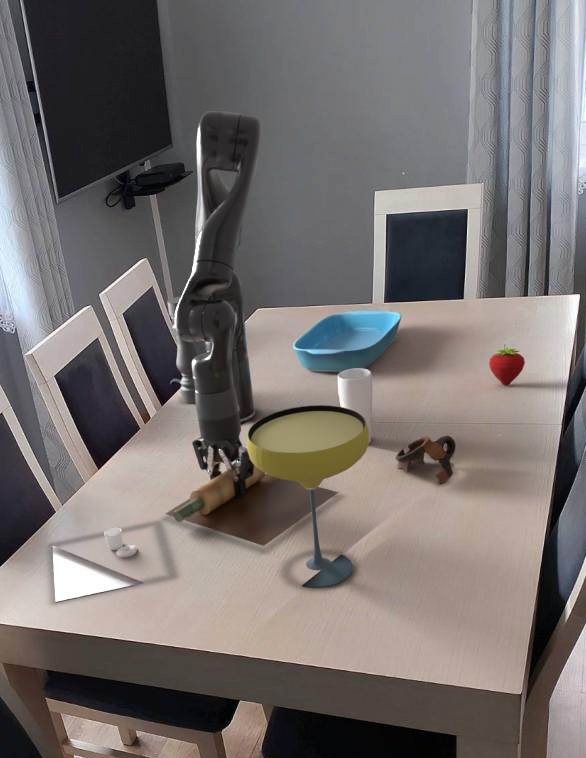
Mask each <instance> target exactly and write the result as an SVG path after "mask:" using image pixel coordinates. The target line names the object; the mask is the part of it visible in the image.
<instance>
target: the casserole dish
mask: <svg viewBox="0 0 586 758" xmlns="http://www.w3.org/2000/svg"><path fill="white" fill-rule="evenodd" d="M401 320H402V314H401V313H400V312H397V311H391V310H390V311H389V310H388V311H387V310H382V309H357V310H353V311H352V310H351V311H342V312H336V313H333V314H329V315H326V316H325V317H323V318H321V319H320V320H319V321H317V322H316V323H315V324H314V325H312V326H311V327H310V328H309V329H307V330H306V331H305V332H304V333H303V334H302V335H300V336H299V337H298V338H297V339H296V340H295V341H294V343H293V344H292V348H293V351H294V352H295V354H296V357H297V359H298V362H299V363H300V365H301V366H302V367H303V368H305V369H306V370H308V371H310V372H321V373H322V372H323V373H324V372H325V373H330V372H332V373H340V372H342V371H344V370H348V369H354V368H362V369H367V368H368V367H369V366H370V365H371V364H372V363H373V364H374V362H375V361H376V360H377V359H378V358H379V357H380V356H381V354H383V353H384V352H385V351H386V350H387V349H388V347H390V346H391V344H392V343H393V342H394V340H395V339H396V337H397V334H398V330H399V327H400V323H401Z"/></svg>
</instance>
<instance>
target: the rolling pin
mask: <svg viewBox="0 0 586 758" xmlns="http://www.w3.org/2000/svg"><path fill="white" fill-rule="evenodd" d="M236 471H237V473H239V471H238V468H236ZM221 473H222V474H220V475H218V476H217V477H215V478H213V479H212V480H211V479H210V480H209V481H207V482H205V483H204V484H202V485H201V486H199V487H197V488H196V489H194V490H192V491H191V492H190V495H189V499H190V501H191V502H189V503H187V504H186V505H184V506H183V507H181V508H179V509H178V510H176V511H175V512H174V513H173V516H174V517H173V516H172V517H173V518H174V520H175V521H176V522H178V523H182V522H183V521H185V519H186V518H188V517H189V516H191V515H193V514H194V513H196V512H198V513H200V514H202V515H206V514H208V513H210V512H211V511H213V510H214V509H216V508H218V507H219V506H221V505H222V504H224V503H225V502H227V501H228V500H230V499H232V498H233V497H235V490H234V483H233V481H234V479H233V477H232V475H231V472H230V471H228V470H227V469H226V470H224V471H223V472H221ZM265 474H266V473H264V472H263V471H261V470H260V469H258V468H257V467H256V466H255V465H254V473H253V475H252V476H250V477H249V478H247V479H246V480H245V481H246V489H247V488H249V487H250V486H252V485H253V484H255V483H256V482H258V481H259V480H261V479H262V478H263V477H264V476H265Z"/></svg>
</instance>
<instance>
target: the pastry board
mask: <svg viewBox="0 0 586 758" xmlns="http://www.w3.org/2000/svg"><path fill="white" fill-rule="evenodd" d="M338 493H339V491H335V490H332V489H329V488H328V489H327V488H325V487H320V486H318V487H317V488H316V489H314V499H315V510H316V509H317V508H319V507H320V506H321V505H323V504H324V503H326V502H327V501H329V500H330V499H331V498H333V497H334V496H335V495H336V494H338ZM189 502H191V501H190V498H188V499H187V500H185V501H183V502H181V503H180V504H179V505H177V506H175V507H174V508H172V509H170V510H168V511H167V512H165V515H167V516H170V517H173V518H174V516H173V513H174V512H175V511H176V510H178V509H179V508H181V507H183V506H184V505H186V504H187V503H189ZM310 513H312V509H311V498H310V490H308V489H306V488H304V487H303V486H302V485H301V484H300V483H299V482H296V481H289V480H283V479H279V478H276V477H273V476H270V475H268V474H266V473H265V476H264V477H263V478H262V479H261V480H259V481H258V482H256V483H255V484H253V485H252V486H250V487H249V488H247V492H246V494H245V496H243V497H242V498H240V499H239V498H236V497H233V498H232V499H230V500H228V501H227V502H225V503H224V504H222V505H221V506H219V507H218V508H216V509H214V510H213V511H211V512H210V513H208V514H206V515H202V514H200V513H198V512H196V513H194V514H193V515H191V516H189V517H188V518H186V519H185V520H184V521H185V522H189V523H191V524H195V525H198V526H201V527H204V528H207V529H210V530H213V531H215V532H219V533H220V532H221V533H223V534H225V535H229V536H232V537H235V538H238V539H241V540H245V541H248V542H250V543H253V544H256V545H259V546H262V547H264V546H266V545H267V544H268V543H270V542H271V541H272V540H274V539H275V538H277V537H278V536H280V535H281V534H282V533H284V532H285V531H286V530H288V529H289V528H291V527H292V526H293V525H295V524H296V523H298V522H299V521H300V520H302V519H303V518H304V517H306V516H308V515H309V514H310Z"/></svg>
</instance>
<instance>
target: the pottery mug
mask: <svg viewBox="0 0 586 758" xmlns="http://www.w3.org/2000/svg"><path fill="white" fill-rule="evenodd" d="M445 445H446V450H445ZM406 448H407V451H406V452H405V449H404V448H402V449H401V450H399V452H397V454H396V455H395V460H396V461H397V469H398V470H404V471H405V472H407V473H409V472H410V465H411V464H413V465H418V466H425V465H426V462H425V455H426V454H427V455H428V456H429V459H431V460H432V461H435V462H438V463H439V464H440V466H441V468H440V470H439V471H438V472H437V473H435V474H434V475H435V478H436V479H437V480H438V483H439V485H442V484H444V483H445V482H447V481H448V480H449V479H450V478H451V477H452V476H453V474H454V472H453V468H452V465H451V463H452V462H451V459H452V458H453V456H454V454H455V452H456V449H457V444H456V441H455V439H454V438H453V437H452V436H451V435H444V436H441V437H439V438H438V439H436V440H434V441H433V440H432V439H431V438H430V436H428V435H427V436H421V437H420V438H418V439H416V440H413V441H412V442H410V443H409V444H408V445H407V446H406Z"/></svg>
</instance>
